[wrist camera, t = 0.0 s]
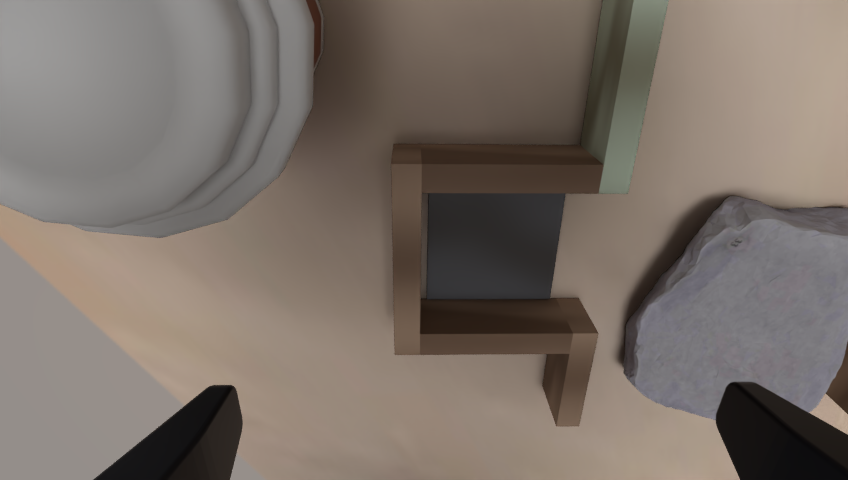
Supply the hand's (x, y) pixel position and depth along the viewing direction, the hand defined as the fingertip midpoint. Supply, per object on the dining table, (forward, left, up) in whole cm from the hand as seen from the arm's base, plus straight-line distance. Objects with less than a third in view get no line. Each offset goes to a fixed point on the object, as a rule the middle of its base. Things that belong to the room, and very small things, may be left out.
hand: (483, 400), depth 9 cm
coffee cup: (+6, +8, -15) cm, 18 cm away
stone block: (-7, -15, -15) cm, 23 cm away
